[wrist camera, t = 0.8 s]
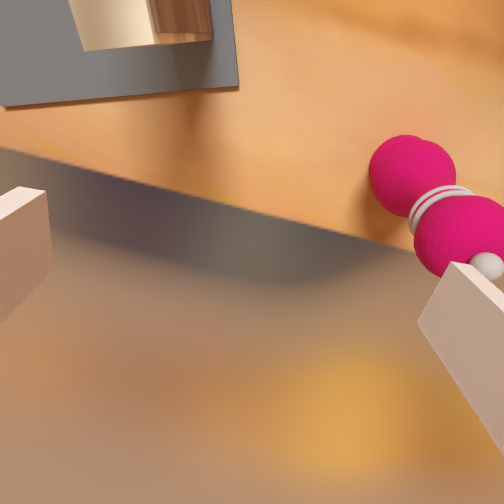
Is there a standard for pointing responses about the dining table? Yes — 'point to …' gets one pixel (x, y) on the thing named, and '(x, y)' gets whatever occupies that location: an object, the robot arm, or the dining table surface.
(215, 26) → the mat
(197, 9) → the brown wooden block
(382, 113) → the dining table surface
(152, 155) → the dining table surface
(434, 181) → the pepper mill
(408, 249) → the dining table surface
